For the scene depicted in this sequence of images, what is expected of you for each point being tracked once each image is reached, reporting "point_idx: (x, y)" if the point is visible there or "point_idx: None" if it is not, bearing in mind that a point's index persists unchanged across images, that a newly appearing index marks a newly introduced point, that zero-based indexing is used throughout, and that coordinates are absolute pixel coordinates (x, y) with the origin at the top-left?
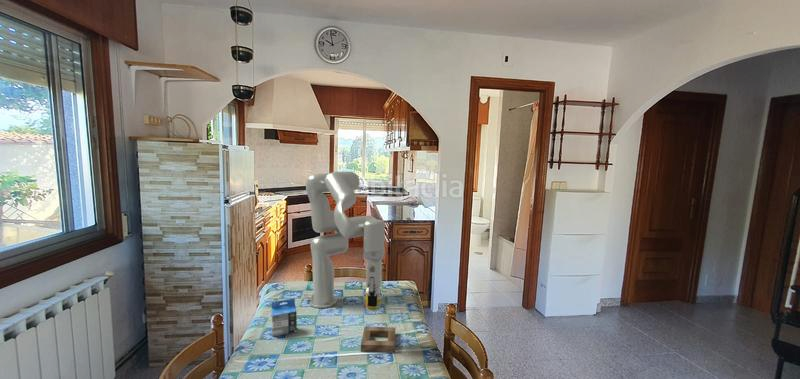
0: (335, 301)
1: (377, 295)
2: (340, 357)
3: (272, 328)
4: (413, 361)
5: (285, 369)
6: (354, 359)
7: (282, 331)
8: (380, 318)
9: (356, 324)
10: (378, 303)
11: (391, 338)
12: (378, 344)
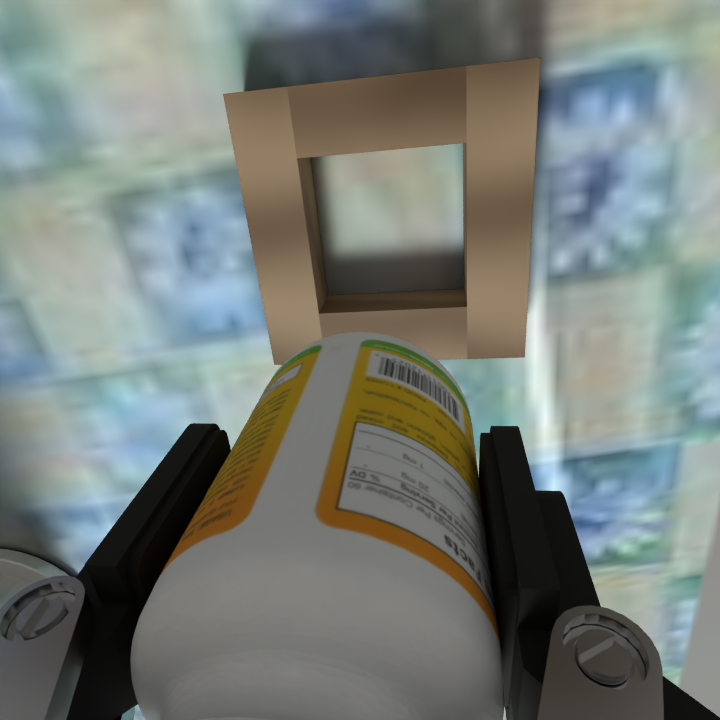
0: (4, 562)
1: (455, 550)
2: (580, 439)
3: None
4: None
5: (665, 640)
6: (608, 359)
7: None
8: (61, 256)
9: (198, 407)
10: (429, 407)
11: (419, 110)
12: (522, 221)
